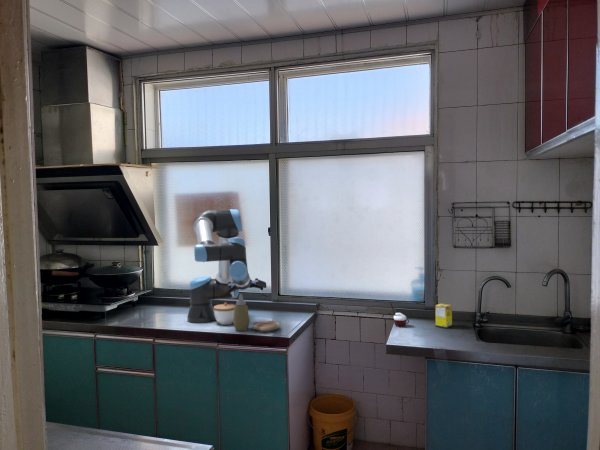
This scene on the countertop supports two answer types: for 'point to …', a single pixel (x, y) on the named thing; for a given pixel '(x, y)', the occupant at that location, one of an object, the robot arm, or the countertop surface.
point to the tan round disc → (266, 326)
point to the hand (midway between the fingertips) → (246, 292)
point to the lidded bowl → (224, 313)
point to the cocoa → (399, 319)
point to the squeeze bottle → (241, 315)
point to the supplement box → (443, 315)
